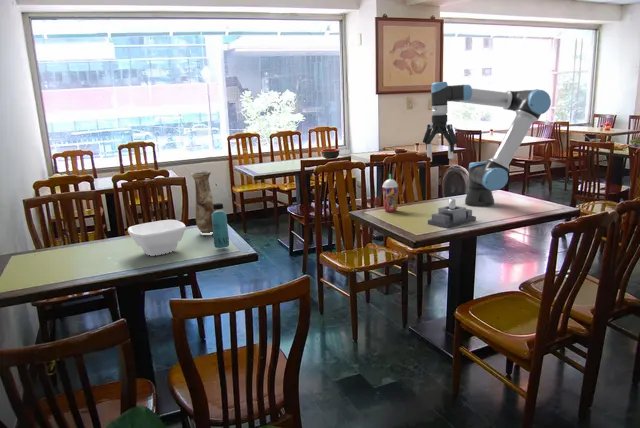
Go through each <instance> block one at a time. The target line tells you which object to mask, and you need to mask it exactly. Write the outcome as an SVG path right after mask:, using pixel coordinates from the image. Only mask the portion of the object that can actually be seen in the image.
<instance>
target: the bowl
mask: <svg viewBox="0 0 640 428" xmlns="http://www.w3.org/2000/svg"><path fill="white" fill-rule="evenodd" d="M186 227H187V226H186V225H185V223H184V222H182V221H180V220H176V219H165V220H164V219H163V220H157V221H151V222H144V223H139V224H136V225H132V226H129V227H128V228H127V232H128V234H129V235H130V237H131V238H132V240H133V241H134V243H135V244H136V245H137V246H139V247H140V248H141V249H142V251H143V253H144V254H146V255H147V256H149V255H150V257H154V256H155V255H156V256H160V255H161V254H162V255H165V253H166V254H169V252H170V253H173V252H172V251H174V252H176V250H177V247H178V245H179V242H181V241H182V239H183V237H184V234H185V231H186ZM162 255H161V256H162Z"/></svg>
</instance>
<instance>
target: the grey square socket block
mask: <svg viewBox="0 0 640 428" xmlns="http://www.w3.org/2000/svg"><path fill="white" fill-rule="evenodd" d="M466 209H467V207H464V206H459V205H455V210H450V209H449V205H446V206H441V207H439V208H438V209H437V213H438V214H442V215H447V216H449V221H453V222H454V221H457V220H461V219H465V218H466Z"/></svg>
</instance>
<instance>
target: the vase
mask: <svg viewBox="0 0 640 428" xmlns="http://www.w3.org/2000/svg"><path fill="white" fill-rule="evenodd" d="M211 173H212V171H211V170H210V171H209V170H201V171H196V172H191V173H190V175H191V177H192V178H193V179H194V184H195V222H196V223H195V224H196V227H197V229H198V230H200V232H202V233H210V232H213V226H212V216H211V215H212V213H213V212H215V211H217V210H214V209H213V205H214V204H215V201H214V200H215V199H214V197H213V194H212V191H211V186H210V181H209V179H210V175H211Z"/></svg>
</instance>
